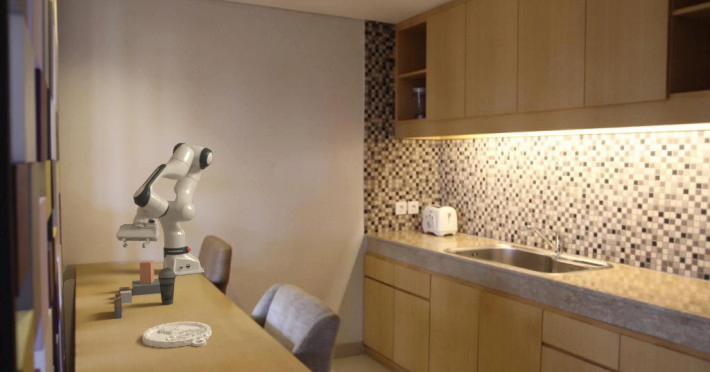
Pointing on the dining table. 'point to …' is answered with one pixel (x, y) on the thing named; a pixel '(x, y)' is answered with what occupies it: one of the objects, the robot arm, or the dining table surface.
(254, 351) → the dining table surface
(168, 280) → the beverage cup
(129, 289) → the walnut block
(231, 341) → the dining table surface
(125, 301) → the grey plastic block
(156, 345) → the medallion
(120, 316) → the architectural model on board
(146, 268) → the terracotta block
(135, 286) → the block
